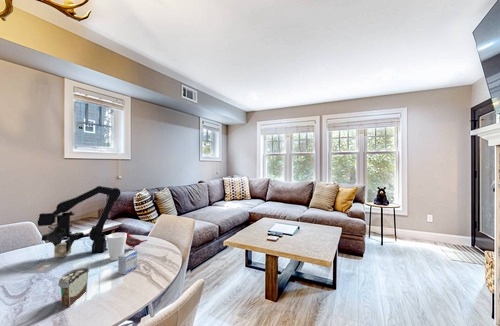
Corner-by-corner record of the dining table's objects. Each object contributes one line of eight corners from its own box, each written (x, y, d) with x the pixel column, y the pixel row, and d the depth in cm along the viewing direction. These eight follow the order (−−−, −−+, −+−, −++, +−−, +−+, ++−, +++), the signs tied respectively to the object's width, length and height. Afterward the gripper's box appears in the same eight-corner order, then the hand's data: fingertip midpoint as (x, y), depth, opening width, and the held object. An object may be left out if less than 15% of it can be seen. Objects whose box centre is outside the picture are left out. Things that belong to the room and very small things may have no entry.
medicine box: (125, 275, 105) (126, 256, 105) (117, 274, 105) (118, 256, 105) (137, 267, 112) (137, 250, 112) (129, 266, 113) (130, 249, 113)
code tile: (65, 262, 117) (65, 261, 117) (46, 273, 105) (46, 272, 105) (41, 262, 116) (41, 262, 116) (20, 273, 104) (20, 273, 104)
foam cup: (102, 260, 120) (103, 236, 120) (118, 253, 129) (118, 231, 129) (114, 263, 117) (115, 238, 117) (129, 256, 125) (130, 233, 125)
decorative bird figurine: (123, 247, 139) (123, 231, 139) (148, 249, 136) (149, 233, 136) (119, 249, 136) (120, 233, 136) (146, 251, 133) (146, 234, 134)
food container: (73, 290, 91) (73, 266, 91) (88, 290, 91) (89, 266, 92) (48, 310, 79) (49, 282, 79) (66, 309, 79) (67, 282, 79)
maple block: (71, 252, 126) (71, 242, 126) (63, 257, 120) (63, 246, 120) (62, 252, 125) (63, 242, 125) (54, 257, 119) (54, 246, 119)
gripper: (32, 228, 114) (31, 258, 114) (70, 227, 115) (69, 257, 115) (50, 222, 125) (49, 249, 125) (84, 222, 126) (84, 249, 126)
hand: (62, 251), depth 122 cm, fingers closed on maple block, 4 cm apart
